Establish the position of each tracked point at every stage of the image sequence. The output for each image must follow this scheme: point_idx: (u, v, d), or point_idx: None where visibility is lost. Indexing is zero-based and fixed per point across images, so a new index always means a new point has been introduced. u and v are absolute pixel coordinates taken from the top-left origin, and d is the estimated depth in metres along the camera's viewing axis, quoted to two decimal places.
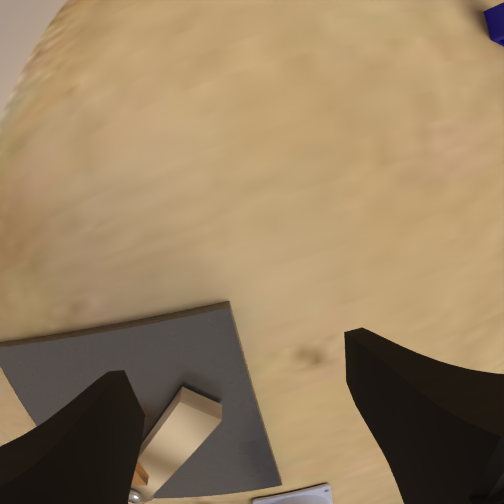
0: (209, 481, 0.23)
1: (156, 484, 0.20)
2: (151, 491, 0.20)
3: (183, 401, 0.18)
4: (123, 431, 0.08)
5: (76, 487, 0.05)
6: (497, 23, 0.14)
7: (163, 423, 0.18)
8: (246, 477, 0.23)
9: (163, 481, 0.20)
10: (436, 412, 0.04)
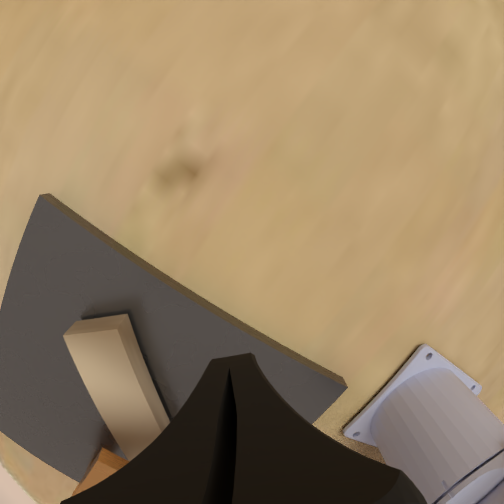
0: None
1: None
2: None
3: (68, 333, 0.13)
4: None
5: (229, 490, 0.05)
6: None
7: (84, 379, 0.13)
8: None
9: None
10: (238, 467, 0.04)
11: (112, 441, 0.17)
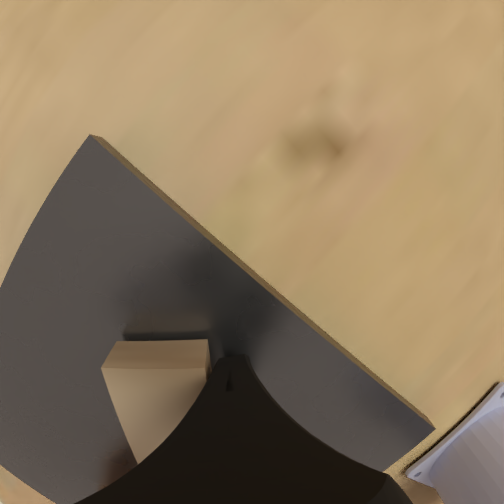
0: None
1: None
2: None
3: (110, 364, 0.08)
4: None
5: None
6: None
7: None
8: (370, 450, 0.12)
9: None
10: (227, 469, 0.04)
11: None
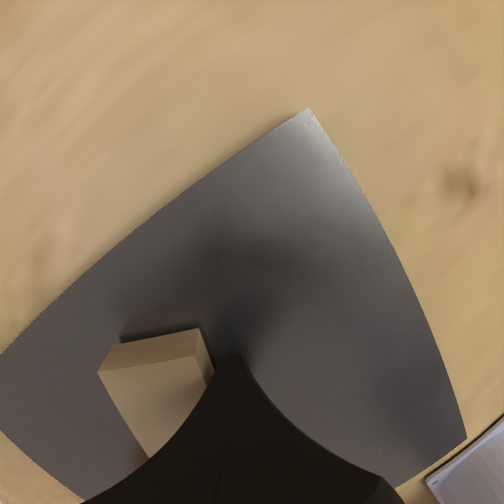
0: None
1: None
2: None
3: (106, 367, 0.08)
4: None
5: None
6: None
7: None
8: (420, 451, 0.13)
9: None
10: (222, 470, 0.04)
11: None
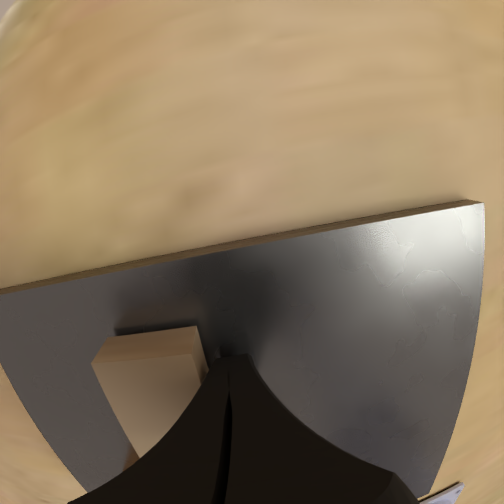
0: None
1: None
2: None
3: (100, 359, 0.08)
4: None
5: None
6: None
7: None
8: None
9: None
10: (232, 468, 0.04)
11: None
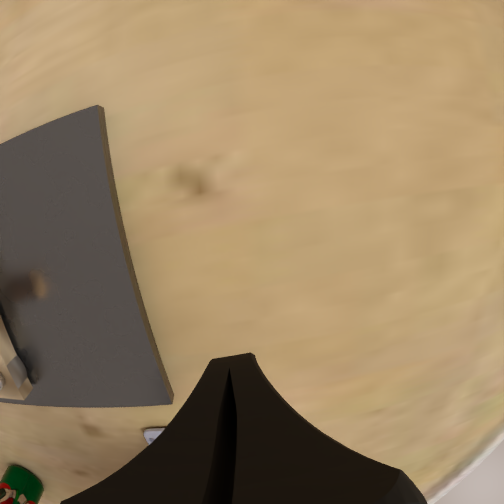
0: (81, 379, 0.19)
1: None
2: (1, 361, 0.16)
3: None
4: None
5: (229, 490, 0.05)
6: None
7: None
8: (122, 379, 0.19)
9: None
10: (238, 468, 0.04)
11: None
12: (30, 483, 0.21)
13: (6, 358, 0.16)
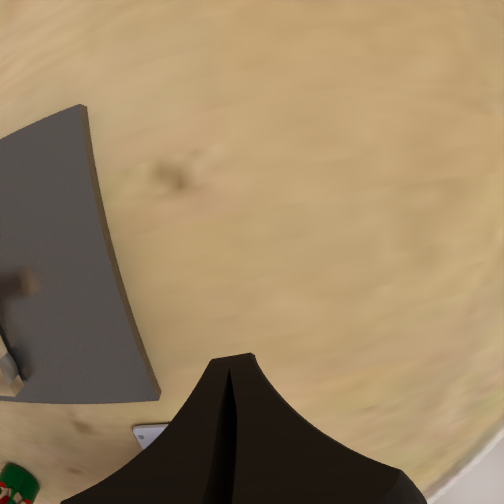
0: (70, 375, 0.18)
1: None
2: None
3: None
4: None
5: (229, 490, 0.05)
6: None
7: None
8: (109, 374, 0.19)
9: None
10: (238, 468, 0.04)
11: None
12: (25, 481, 0.21)
13: None
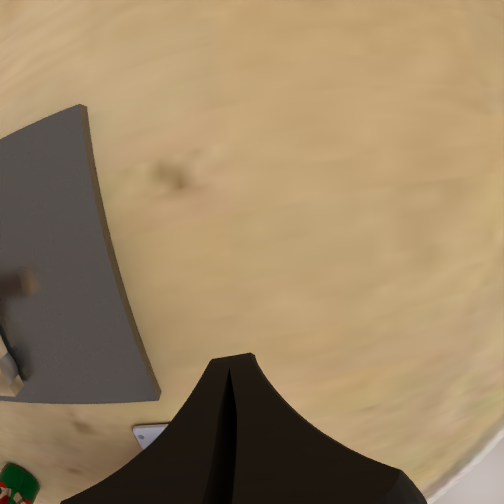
0: (70, 375, 0.18)
1: None
2: None
3: None
4: None
5: (229, 490, 0.05)
6: None
7: None
8: (109, 374, 0.19)
9: None
10: (238, 468, 0.04)
11: None
12: (25, 482, 0.21)
13: None
